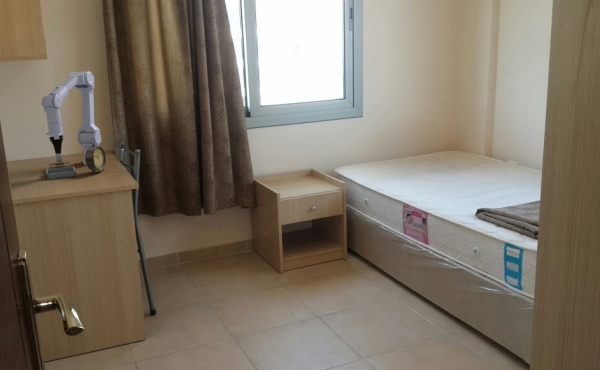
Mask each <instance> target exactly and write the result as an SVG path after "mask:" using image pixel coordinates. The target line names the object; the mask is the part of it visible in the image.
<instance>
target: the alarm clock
mask: <svg viewBox="0 0 600 370" xmlns="http://www.w3.org/2000/svg"><path fill="white" fill-rule="evenodd" d="M92 138H93V137H92ZM92 138H91V144H92V147H89V148H88V149H87V151H86V154H85V161H86V165H85V166H86V167H87V168H88V169H89V170H90V171H91V173H92V174H93V175H95V173H96V171H99V172H100V171H102V170H103V171H104V168H105V166H106V162H107V161H106V160H107V158H106V152H105V149H104V148H103V147H102V146H99V145H98V146H94V143H95V139H94V138H93V139H94V143H92Z"/></svg>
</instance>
